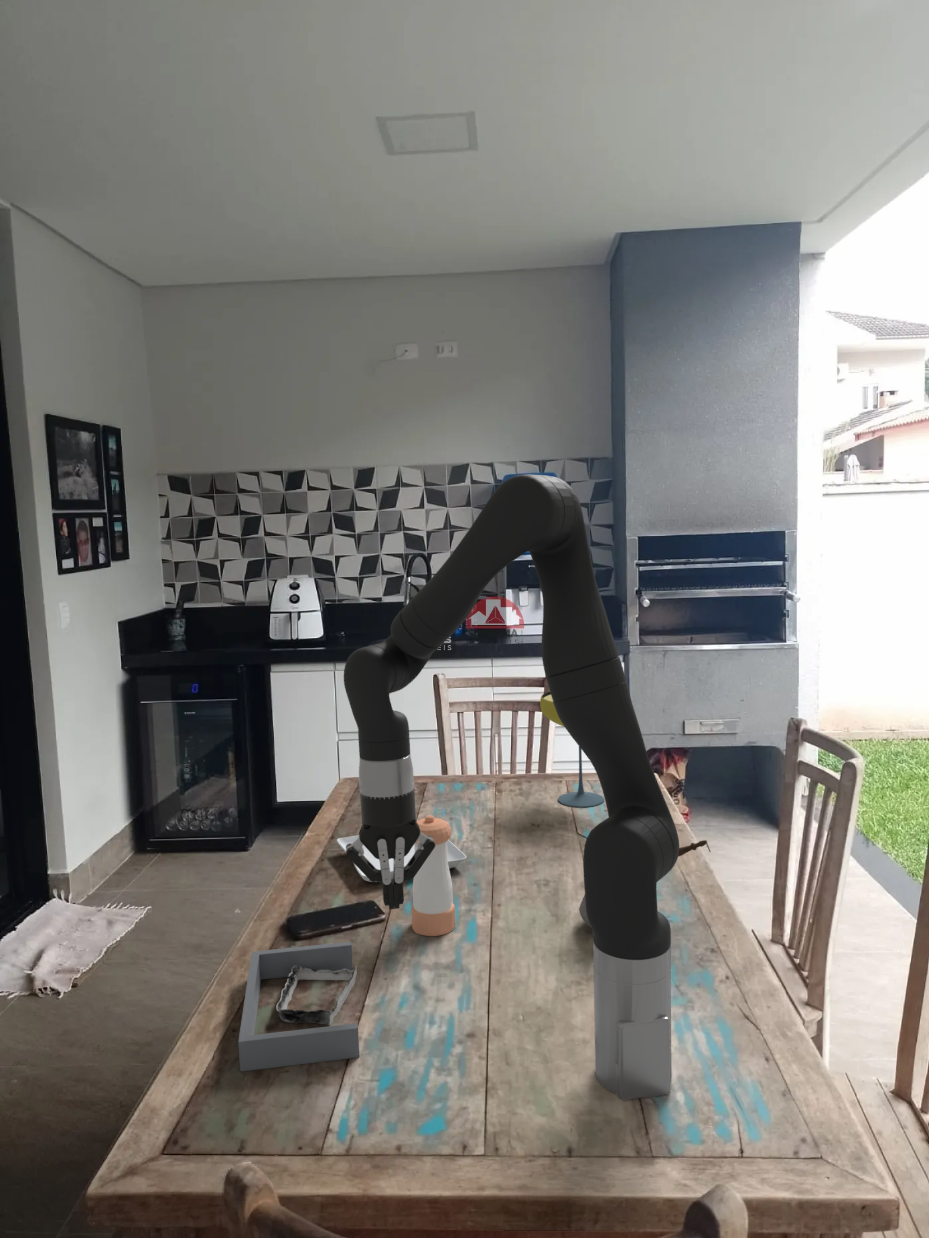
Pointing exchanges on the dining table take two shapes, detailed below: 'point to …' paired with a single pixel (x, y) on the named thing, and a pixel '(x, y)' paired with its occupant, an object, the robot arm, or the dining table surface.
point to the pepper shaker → (433, 884)
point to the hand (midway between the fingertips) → (394, 906)
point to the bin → (294, 1043)
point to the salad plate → (454, 857)
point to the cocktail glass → (579, 797)
